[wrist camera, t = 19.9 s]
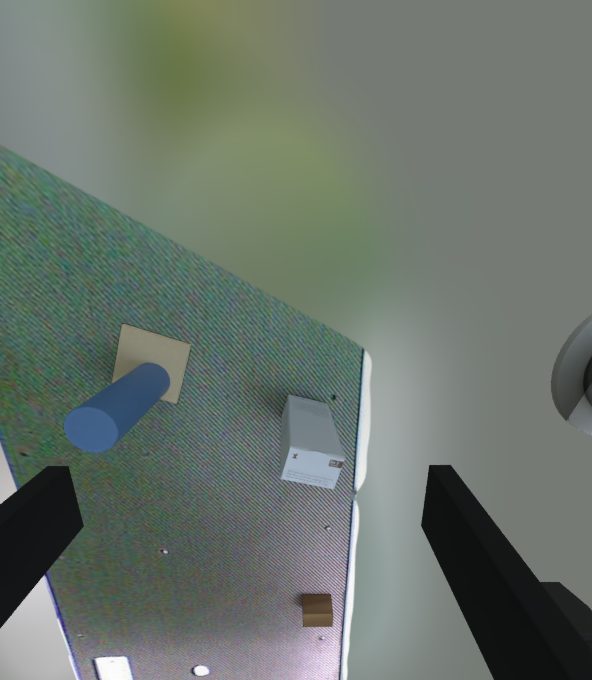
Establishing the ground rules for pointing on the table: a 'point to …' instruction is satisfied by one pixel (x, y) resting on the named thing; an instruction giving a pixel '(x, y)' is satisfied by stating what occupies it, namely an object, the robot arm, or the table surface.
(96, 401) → the tube
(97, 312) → the table surface
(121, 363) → the mat
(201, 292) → the table surface
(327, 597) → the brown rectangular block
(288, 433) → the cosmetic box
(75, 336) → the table surface
